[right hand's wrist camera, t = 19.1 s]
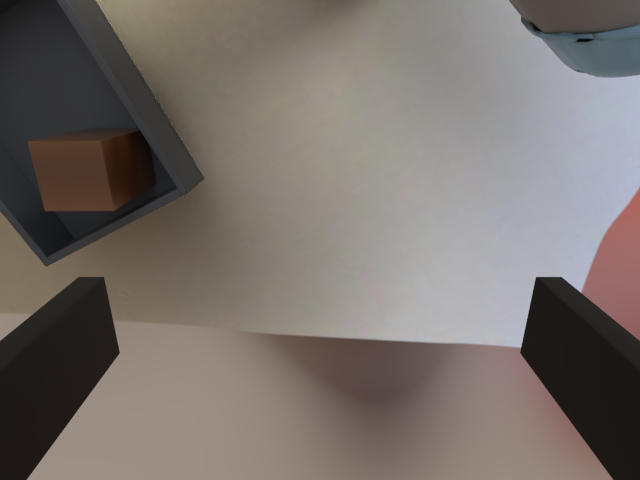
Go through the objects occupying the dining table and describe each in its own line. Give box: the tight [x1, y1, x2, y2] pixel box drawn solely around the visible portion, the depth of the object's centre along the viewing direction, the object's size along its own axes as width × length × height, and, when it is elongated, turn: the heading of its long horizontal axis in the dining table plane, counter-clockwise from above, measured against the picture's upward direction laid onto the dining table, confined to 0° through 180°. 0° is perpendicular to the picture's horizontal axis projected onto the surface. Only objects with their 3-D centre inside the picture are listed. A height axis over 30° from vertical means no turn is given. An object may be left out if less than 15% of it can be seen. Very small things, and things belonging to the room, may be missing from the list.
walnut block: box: [28, 128, 156, 211], centre depth 30 cm, size 4×4×8 cm
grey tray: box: [0, 0, 204, 266], centre depth 28 cm, size 24×13×7 cm, turn 27°
